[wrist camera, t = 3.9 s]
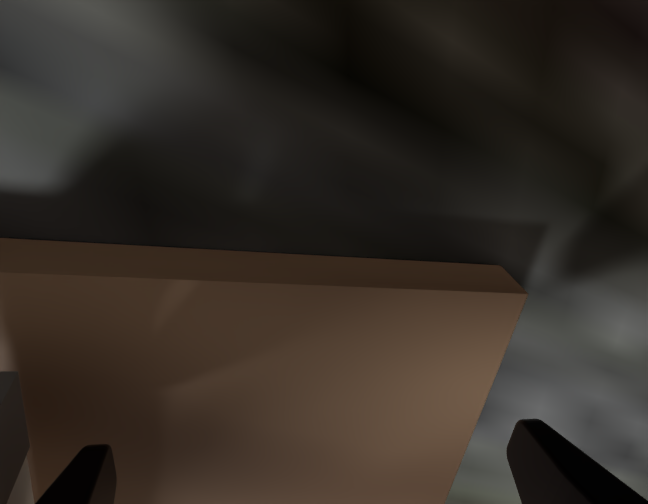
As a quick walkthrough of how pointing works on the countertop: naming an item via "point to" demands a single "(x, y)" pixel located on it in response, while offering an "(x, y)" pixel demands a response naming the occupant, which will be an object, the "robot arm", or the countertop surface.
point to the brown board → (252, 369)
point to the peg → (13, 443)
